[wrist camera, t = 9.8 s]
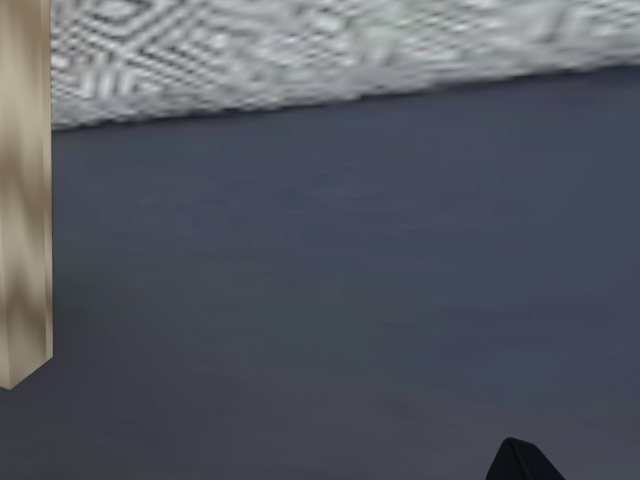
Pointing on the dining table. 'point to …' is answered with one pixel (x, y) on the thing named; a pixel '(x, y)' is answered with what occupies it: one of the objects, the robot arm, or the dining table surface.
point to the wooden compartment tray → (25, 190)
